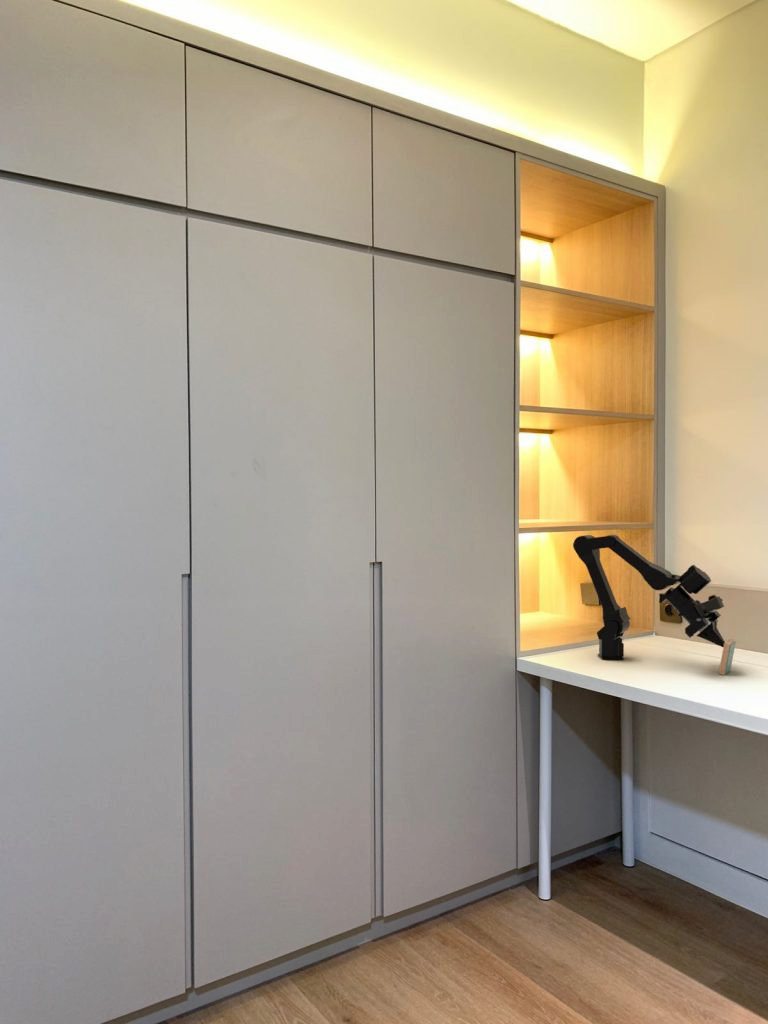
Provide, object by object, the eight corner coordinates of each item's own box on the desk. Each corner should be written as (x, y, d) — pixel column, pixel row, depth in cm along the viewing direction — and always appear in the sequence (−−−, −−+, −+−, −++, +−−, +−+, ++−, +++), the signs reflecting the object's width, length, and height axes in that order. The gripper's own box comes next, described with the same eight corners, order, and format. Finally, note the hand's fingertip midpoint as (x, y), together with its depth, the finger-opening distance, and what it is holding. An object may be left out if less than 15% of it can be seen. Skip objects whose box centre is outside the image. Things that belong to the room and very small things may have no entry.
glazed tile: (718, 673, 217) (724, 642, 216) (724, 669, 223) (729, 639, 222) (724, 675, 216) (730, 644, 215) (730, 670, 222) (736, 640, 221)
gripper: (697, 589, 215) (739, 633, 209) (713, 583, 230) (753, 623, 224) (668, 615, 220) (708, 659, 213) (685, 607, 235) (724, 647, 229)
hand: (725, 646), depth 220 cm, fingers closed
